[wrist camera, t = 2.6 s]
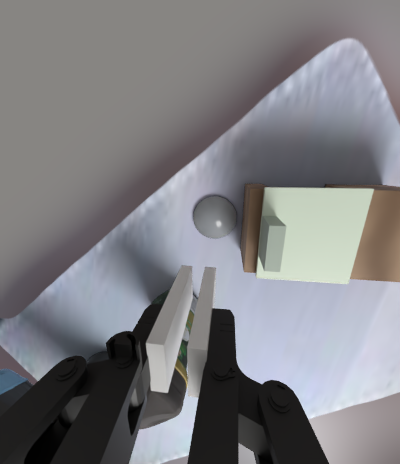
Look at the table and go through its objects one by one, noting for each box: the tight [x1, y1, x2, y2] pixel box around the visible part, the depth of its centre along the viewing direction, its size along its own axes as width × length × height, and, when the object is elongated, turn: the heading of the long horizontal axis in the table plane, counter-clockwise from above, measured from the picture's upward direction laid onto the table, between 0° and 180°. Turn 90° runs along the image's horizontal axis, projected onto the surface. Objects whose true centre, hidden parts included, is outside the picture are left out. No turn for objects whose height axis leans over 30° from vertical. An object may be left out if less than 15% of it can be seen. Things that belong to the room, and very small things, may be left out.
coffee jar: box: [139, 289, 198, 429], centre depth 30 cm, size 10×8×19 cm
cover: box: [256, 187, 374, 284], centre depth 22 cm, size 11×12×5 cm
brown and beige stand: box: [241, 184, 400, 282], centre depth 27 cm, size 19×11×8 cm, turn 90°
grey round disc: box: [193, 196, 237, 239], centre depth 32 cm, size 7×7×1 cm
